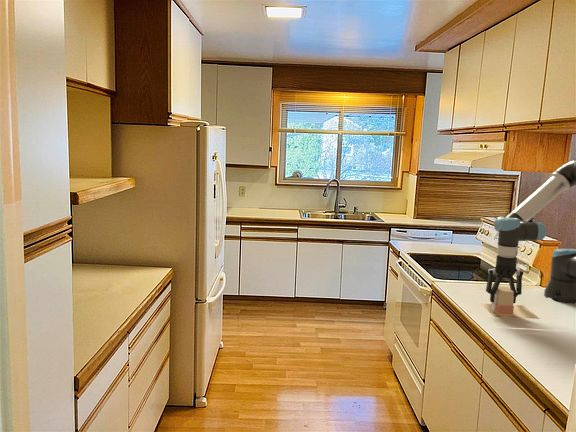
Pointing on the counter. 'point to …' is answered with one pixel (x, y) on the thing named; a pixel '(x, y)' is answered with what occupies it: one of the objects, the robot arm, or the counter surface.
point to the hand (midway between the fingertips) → (501, 310)
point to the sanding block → (504, 301)
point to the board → (514, 312)
